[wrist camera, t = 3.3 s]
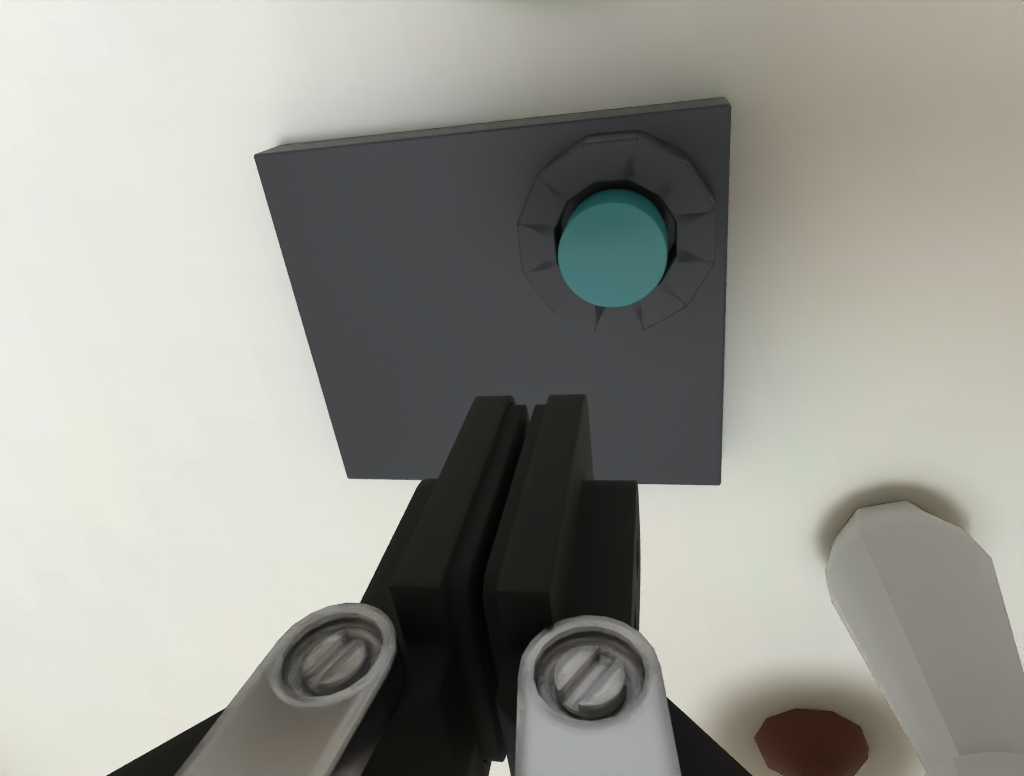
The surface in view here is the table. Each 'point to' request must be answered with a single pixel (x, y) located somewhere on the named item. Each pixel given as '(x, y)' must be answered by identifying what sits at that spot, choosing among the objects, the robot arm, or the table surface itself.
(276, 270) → the table surface
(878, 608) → the salt shaker
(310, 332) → the scale
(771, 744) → the ice cream bowl
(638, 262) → the button
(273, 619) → the table surface
